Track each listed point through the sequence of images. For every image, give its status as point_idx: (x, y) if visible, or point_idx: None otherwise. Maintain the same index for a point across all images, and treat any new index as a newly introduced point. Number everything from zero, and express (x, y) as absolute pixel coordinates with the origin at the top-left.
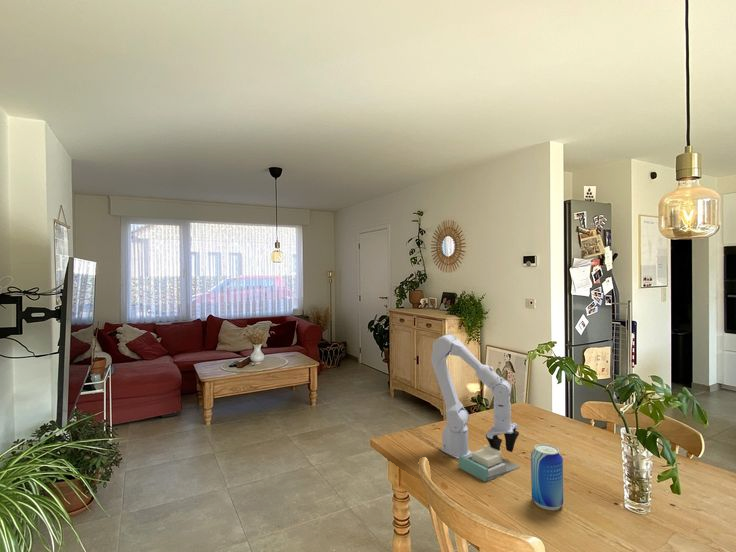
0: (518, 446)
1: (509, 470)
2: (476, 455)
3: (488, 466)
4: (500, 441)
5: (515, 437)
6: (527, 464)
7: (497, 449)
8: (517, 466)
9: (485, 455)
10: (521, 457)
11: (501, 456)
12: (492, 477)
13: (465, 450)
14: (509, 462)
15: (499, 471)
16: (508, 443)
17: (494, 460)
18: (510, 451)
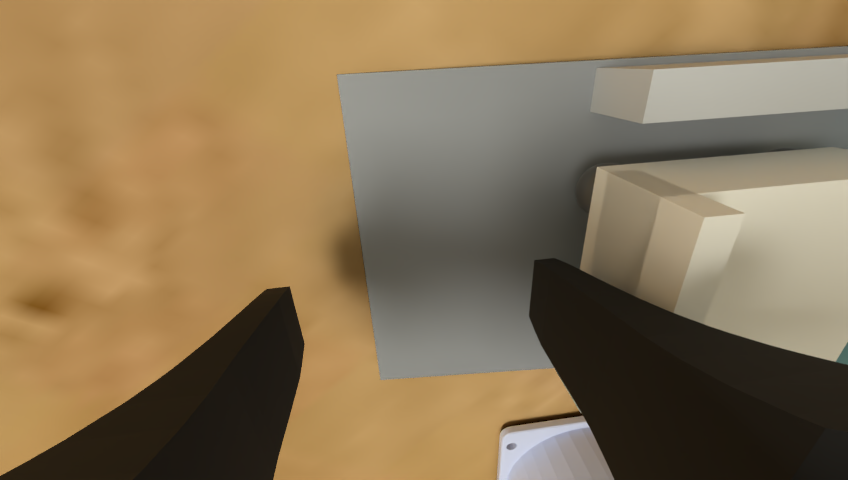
0: (21, 402)
1: (541, 65)
2: (843, 334)
3: (836, 150)
4: (841, 401)
5: (95, 467)
6: (197, 78)
7: (659, 308)
8: (357, 105)
9: (812, 287)
10: (149, 236)
11: (649, 188)
12: (821, 47)
13: (599, 461)
14: (364, 214)
15: (729, 61)
16: (270, 402)
17: (782, 169)
18: (290, 300)
